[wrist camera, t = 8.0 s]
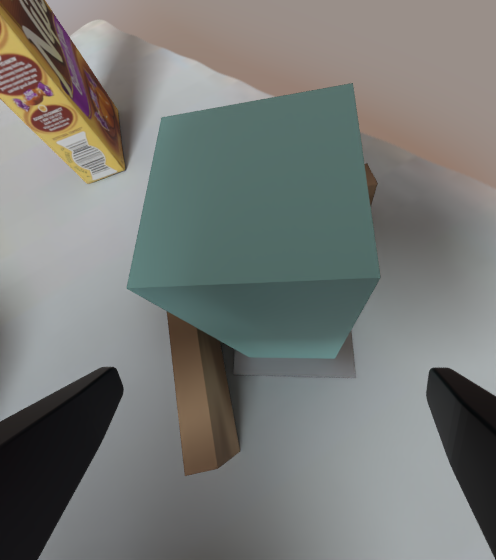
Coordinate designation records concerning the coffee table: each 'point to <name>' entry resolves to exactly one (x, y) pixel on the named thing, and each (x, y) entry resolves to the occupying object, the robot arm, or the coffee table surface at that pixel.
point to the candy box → (57, 90)
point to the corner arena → (214, 387)
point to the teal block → (261, 224)
